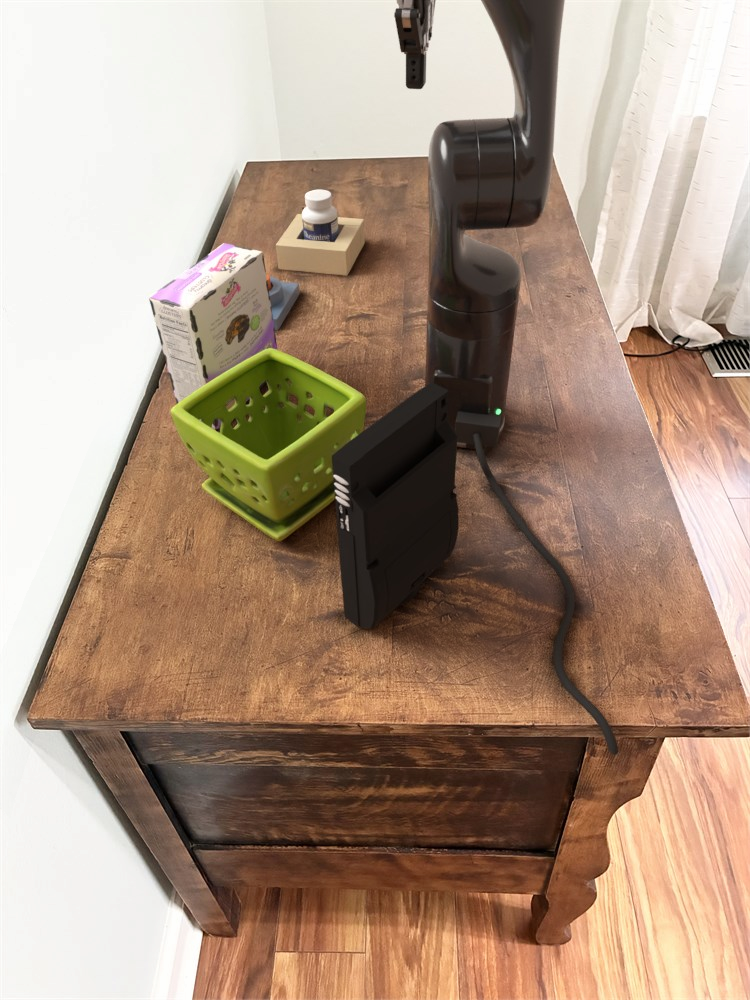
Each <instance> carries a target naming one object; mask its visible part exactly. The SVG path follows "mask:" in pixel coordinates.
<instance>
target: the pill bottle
mask: <svg viewBox="0 0 750 1000" xmlns="http://www.w3.org/2000/svg"><path fill="white" fill-rule="evenodd" d="M304 204H305V207H304V208H303V210H302V212H301V214H302V221H303V231H304V240H314V241H325V242H335V241H336V239H337V237H338V235H339V233H338V217H339V216H338V211H337V208H336V207H335V206H334V205H332V204H333V197H332V193H331V191H330V190H326V189H320V188H319V189H313V190H310V191H307V192H306V193H305V194H304Z"/></svg>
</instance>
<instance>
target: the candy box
mask: <svg viewBox="0 0 750 1000" xmlns="http://www.w3.org/2000/svg"><path fill="white" fill-rule="evenodd" d="M265 263H266V262H265V257H264V252H263V251H262V250H257V249H253V248H248V247H245V246H238V245H236V244H235V245H234V244H231V243H227V242H226V243H225V242H223V243H222V244H221V245H218V247H216V248H215V249H213V250H212V251H211V252H210V253H208V254H207V255H206V256H204V257H203V258H201V259H199V261H198V262H196V263H195V264H193V265H191V266H190V267H189V268H188V269H186V270H184V271H183V272H181V274H179V275H178V276H176V277H174V279H172V280H171V281H170V282H168V283H167V284H165V285H164V286H163V287H161V288H160V289H158V290H157V291H156V292H154V293H153V294H151V295H149V296H148V300H149V304H150V306H151V312H152V316H153V319H154V323H155V326H156V330H157V334H158V337H159V342H160V346H161V349H162V353H163V357H164V361H165V365H166V369H167V372H168V376H169V380H170V384H171V386H172V387H171V388H172V391H173V395H174V399H175V403H176V404H178V403H179V402H181V401H182V400H183V399H185V398H186V397H187V396H189V395H190V394H192V393H193V392H195V391H196V390H198V389H199V388H201V387H202V386H204V385H205V384H207V383H208V382H210V381H211V380H213V379H215V378H216V377H218V376H219V375H221V374H223V373H224V372H226V371H228V370H229V369H231V368H233V367H234V366H236V365H238V364H239V363H241V362H243V361H245V360H246V359H248V358H250V357H252V356H254V355H256V354H257V353H259V352H261V351H263V350H265V349H268V348H273V349H276V350H278V343H277V337H276V330H275V329H274V322H273V315H272V309H271V302H270V295H269V289H268V282H267V276H266V273H267V270H266V264H265ZM265 384H267V382H266V381H264V382H263V383H262V384H261V385H260V386H259V389H262V387H264V385H265ZM248 401H250V397H249V398H247V400H246V403H247V402H248ZM234 405H235V400H234V397H233V398H231V399H230V400H229V401H228V402H227V403H226V408H227V410H229V409H230V408H231V407H233V406H234ZM200 421H201V419H200ZM211 428H212V429H214V430H216V431H217V430H220V428H221V420H220V419H214V421H213V424H212V427H211Z"/></svg>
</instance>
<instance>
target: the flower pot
mask: <svg viewBox="0 0 750 1000" xmlns="http://www.w3.org/2000/svg"><path fill="white" fill-rule="evenodd" d="M264 381H266V385H267V387H268V390H267V391H266V392H265V393H264V394H263V395H262V392H261V390H260V389H261V388H260V389H259V386H260V385H261V384H262V383H263V382H264ZM310 394H311V396H310ZM290 395H292V396H294V397H295V398H297V404H295V403H293V402H292V401H291V400H290ZM233 397H234V400H235V405H234V406H233V407H231V408H230V409H229V410H227V408H226V403H227V402H228V401H229V400H230V399H231V398H233ZM249 397H250V399H249V403H248V404H247V402H246V400H247V398H249ZM282 405H283V407H282ZM307 406H308V407H310V408H312V409H313V410H314V412H313V413H314V414H311V413H310V412H308V411H307V408H308V407H307ZM327 407H328V408H330V409H332V410H333V412H332V414H330V415H329V416H327ZM366 414H367V398H366V396H365V395H364V394H363V393H361V392H360V391H358V390H357V389H356V388H355V387H352V386H351V385H349V384H347V383H346V382H343V381H342V380H340V379H338V378H337V377H334V376H333V375H331V374H329V373H327V372H324V371H323V370H322V369H319V368H317V367H315V366H314V365H312V364H309V363H308V362H306V361H303V360H301V359H299V358H297V357H295V356H293V355H291V354H288V353H286V352H284V351H281V350H280V349H277V350H276V349H273V348H268V349H265V350H263V351H261V352H259V353H257V354H256V355H254V356H252V357H250V358H248V359H246V360H245V361H243V362H241V363H239V364H238V365H236V366H234V367H233V368H231V369H229V370H228V371H226V372H224V373H223V374H221V375H219V376H218V377H216V378H215V379H213V380H211V381H210V382H208V383H207V384H205V385H204V386H202V387H201V388H199V389H198V390H196V391H195V392H193V393H192V394H190V395H189V396H187V397H186V398H185V399H183V400H182V401H181V402H179V403H178V404H177V403H176V404H175V405H174V406H173V407H171V409H170V416H171V418H172V421H173V423H174V426H175V428H176V430H177V433H178V435H179V437H180V439H181V441H182V443H183V445H184V446H185V449H186V450H187V452H188V453H189V454H190V456H191V457H192V459H193V460H194V461H195V462H196V464H197V465H198V466H199V467H200V468H201V470H202V471H203V472H204V473H205V474H206V475H207V476H208V477H209V478H207V479H206V480H205V481H203V483H201V488H202V490H203V491H204V492H206V493H207V494H208V495H209V496H211V497H212V498H214V499H215V500H216V501H218V502H219V503H221V504H222V505H223V506H224V507H226V508H227V509H229V510H231V511H232V512H233V513H235V514H236V515H238V516H239V517H241V518H242V519H244V520H245V521H247V523H249V524H251V525H252V526H253V527H255V528H257V530H259V531H260V532H262V533H264V534H265V535H267V536H268V537H269V538H271V539H273V540H275V541H276V542H281V541H283V540H285V539H287V538H288V537H289V536H290V535H291V534H293V533H295V531H297V530H298V529H299V528H301V527H302V526H303V525H305V524H306V523H307V522H309V521H310V520H311V519H312V518H314V517H316V515H317V514H319V513H320V512H321V511H322V510H324V509H325V508H326V507H328V506H329V505H330V504H331V503H333V502H335V492H334V480H333V467H332V455H333V454H334V453H336V452H337V451H338V450H339V449H340V448H342V447H343V446H344V445H345V444H347V443H348V442H349V441H351V440H352V439H353V438H355V437H356V436H357V435H359V434H360V433H361V432H363V431H364V427H365V420H366ZM247 415H249V418H248V420H247ZM300 417H301V419H300ZM200 419H201V421H200ZM214 419H220V420H221V427H220V428H219V431H217V429H216V430H214V429H212V428H211V427H212V424H213V421H214ZM234 420H236V422H237V423H236V425H235V426H234V427H233V426H232V422H233V421H234Z"/></svg>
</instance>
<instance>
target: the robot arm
mask: <svg viewBox="0 0 750 1000" xmlns="http://www.w3.org/2000/svg"><path fill="white" fill-rule="evenodd" d="M436 1H437V0H396V3H397V5H398V7H397V8H395V10H394V12H393V13H394V15H393V16H394V19H395V20H394V21H395V25H396V26H395V27H396V32H397V37H398V43H399V50H400V52H401V53H403V54H404V55H405V86H406V88H407V89H409V90H422V89H424V86H425V84H426V82H427V52H428V50H429V48H430V42H429V41H431V39H432V38H433V32H432V31H433V25H434V16H435V8H436ZM480 1H481V3H482V5H483V7H484V9H485V11H486V13H487V15H488V17H489V18H490V20H491V23H492V25H493V27H494V29H495V32H496V33H497V36H498V39H499V42H500V45H501V46H502V49H503V52H504V55H505V58H506V60H507V63H508V65H509V70H510V73H511V78H512V85H513V91H514V92H513V93H514V112H513V116H512V117H496V118H495V117H494V118H470V119H454V120H447V121H442V122H440V123H439V124H438V125H437V126H436V128H434V130H433V132H432V135H431V137H430V142H429V147H428V157H427V191H428V192H427V193H428V196H427V197H428V223H429V224H428V225H429V238H428V239H429V242H428V243H429V247H428V250H429V251H428V275H427V276H428V277H427V305H426V306H427V309H426V312H427V313H426V337H425V339H426V341H425V342H426V343H425V345H426V346H425V375H424V376H425V379H424V387H425V386H426V385H428V384H429V383H431V382H433V383H435V384H437V385H439V386H441V387H443V388H445V389H447V390H449V395H448V399H447V403H448V409H447V420H446V421H447V422H448V424H449V425H450V426H451V428H452V429H453V430H454V432H455V433H456V434H457V448H463V449H469V450H470V449H471V450H475V451H476V452H475V453H476V456H477V459H478V462H479V465H480V468H481V470H482V473H483V475H484V476H485V478H486V480H487V482H488V483H489V485H490V487H491V489H492V491H493V492H494V494H495V495H496V496H497V498H498V499H499V501H500V502H501V504H502V505H503V507H504V508H505V511H506V512H507V513H508V515H509V516H510V517H511V519H512V520H513V522H514V523H515V524H516V526H517V527H518V528H519V530H520V531H521V533H522V534H523V536H524V537H525V539H526V540H527V541H528V542H529V543H530V544H531V545H532V547H533V548H534V549H535V550H536V552H538V553H539V554H540V555H541V556H542V557H543V558H544V560H545V561H547V563H548V564H549V565H550V566H551V568H552V569H553V571H554V572H555V573H556V574H557V576H558V578H559V580H560V583H561V584H562V588H563V590H564V594H565V610H564V614H563V617H562V619H561V622H560V624H559V627H558V630H557V633H556V636H555V638H554V643H553V651H552V658H553V659H552V661H553V665H554V670H555V673H556V676H557V678H558V680H559V682H560V683H561V685H562V687H563V688H564V689H565V691H566V692H567V693H568V694H569V695H570V697H572V698H573V699H574V700H575V701H576V702H577V703H578V704H579V705H580V706H581V707H582V708H583V709H584V710H585V711H586V712H587V713H588V714H589V715H590V717H592V719H593V720H594V722H596V724H597V725H598V727H599V728H600V730H601V732H602V734H603V738H604V739H605V742H606V746H607V750H608V751H609V752H610V753H609V754H612V755H618V754H619V747H618V742H617V739H616V736H615V734H614V732H613V729H612V727H611V725H610V724H609V721H608V720H607V718H606V717H605V715H604V714H603V713H602V712H601V711H600V709H599V708H597V706H596V705H595V704H594V703H593V702H592V701H591V700H590V699H589V698H587V697H586V696H585V695H584V694H583V693H582V692H581V691H580V690H579V689H578V688H577V686H576V685H574V683H573V682H572V680H571V679H570V677H569V675H568V673H567V670H566V669H565V666H564V665H565V664H564V661H563V647H564V643H565V639H566V636H567V633H568V631H569V628H570V626H571V623H572V619H573V617H574V612H575V607H576V598H575V592H574V591H575V590H574V588H573V584H572V581H571V579H570V577H569V575H568V574H567V572H566V570H565V569H564V567H563V566H562V564H560V562H559V561H558V560H557V559H556V557H555V556H554V555H553V554H552V553H551V552H550V551H549V550H548V549H547V548H546V547H545V546H544V544H542V543H541V542H540V540H539V539H538V538H537V537H536V535H535V534H534V533H533V531H531V529H530V528H529V526H528V525H527V523H526V522H525V521H524V519H523V518H522V517H521V515H520V514H519V513H518V512H517V510H516V508H515V507H514V506H513V504H512V503H511V502H510V500H509V499H508V497H507V496H506V495H505V493H504V491H503V489H502V488H501V486H500V484H499V483H498V481H497V479H496V477H495V475H494V474H493V472H492V470H491V468H490V466H489V463H488V461H487V457H486V454H485V450H486V447H491V448H497V447H498V443H499V437H500V436H501V434H502V433H503V431H504V428H505V420H506V419H505V414H506V413H505V412H506V406H507V395H508V388H509V387H508V386H509V378H510V370H511V362H512V356H513V355H512V354H513V347H514V337H515V330H516V321H517V314H518V307H519V298H520V290H521V281H522V270H521V266H520V264H519V262H518V260H517V259H516V258H515V257H514V256H513V255H512V254H511V253H509V252H508V251H506V250H504V249H502V248H500V247H498V246H495V245H492V244H489V243H487V242H483V241H480V240H478V239H476V238H474V237H472V236H470V235H469V234H468V233H466V231H480V230H481V231H483V230H501V229H519V228H526V227H531V226H533V225H536V224H537V223H538V222H539V221H540V219H542V216H543V214H544V212H545V211H546V207H547V203H548V199H549V194H550V189H551V182H552V174H553V173H552V172H553V161H554V159H553V158H554V148H555V147H554V145H555V130H556V129H555V128H556V127H555V126H556V114H557V113H556V112H557V111H556V110H557V96H558V95H557V94H558V77H559V61H560V49H561V38H562V37H561V36H562V27H563V18H564V9H565V4H566V3H565V1H566V0H480Z"/></svg>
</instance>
